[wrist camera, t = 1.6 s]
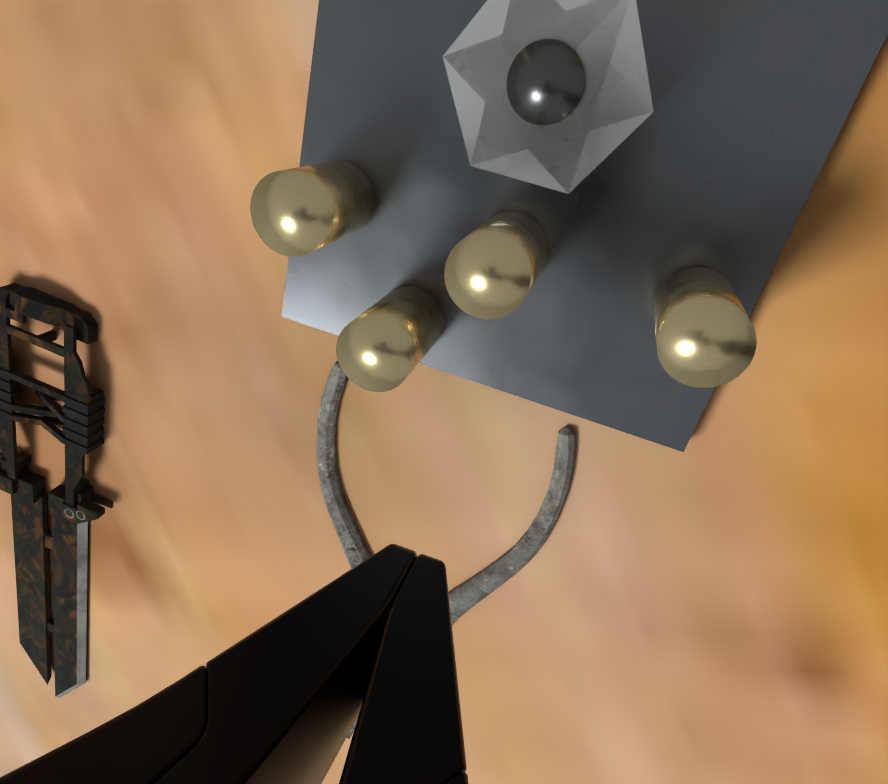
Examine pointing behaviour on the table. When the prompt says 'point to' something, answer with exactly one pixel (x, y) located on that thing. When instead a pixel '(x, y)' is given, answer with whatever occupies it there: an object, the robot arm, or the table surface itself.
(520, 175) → the nut
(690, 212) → the spacer plate
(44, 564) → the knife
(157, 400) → the table surface
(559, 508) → the pliers
